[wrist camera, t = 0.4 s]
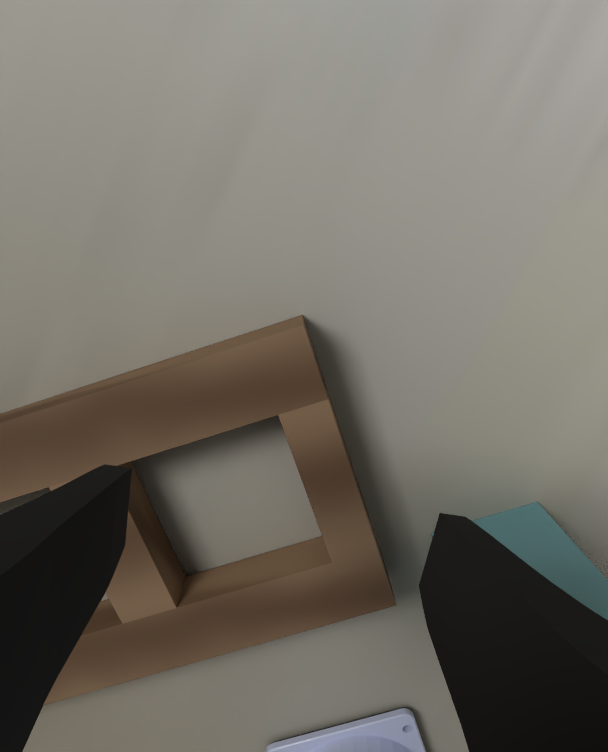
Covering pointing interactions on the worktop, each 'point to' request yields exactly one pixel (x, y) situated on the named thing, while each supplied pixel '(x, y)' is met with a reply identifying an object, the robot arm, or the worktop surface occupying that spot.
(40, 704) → the robot arm
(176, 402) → the walnut frame
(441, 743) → the worktop surface
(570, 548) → the teal block
